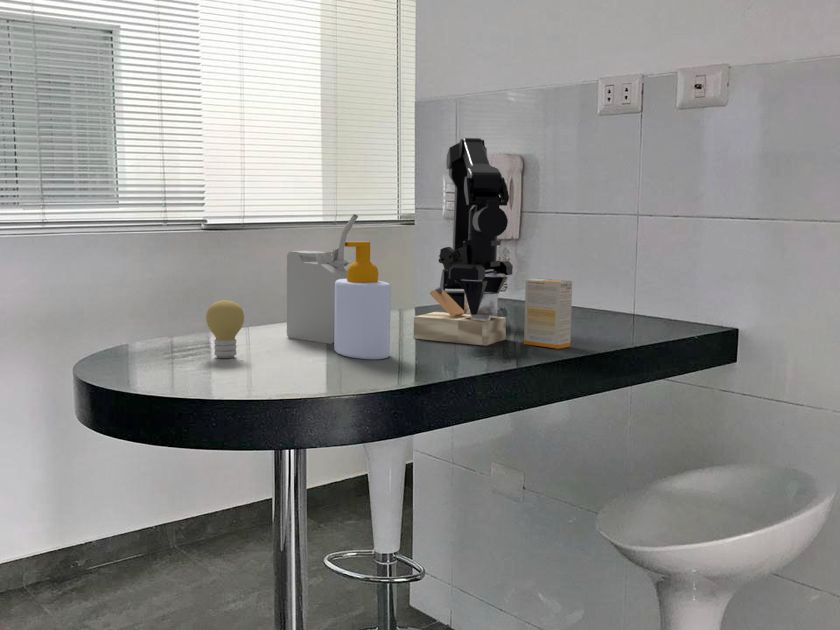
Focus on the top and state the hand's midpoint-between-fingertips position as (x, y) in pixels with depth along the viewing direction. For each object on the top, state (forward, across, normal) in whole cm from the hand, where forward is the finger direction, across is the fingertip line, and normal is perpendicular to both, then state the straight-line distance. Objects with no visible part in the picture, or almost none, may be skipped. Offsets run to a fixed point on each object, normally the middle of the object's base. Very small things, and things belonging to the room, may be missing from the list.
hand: (480, 312), depth 179 cm
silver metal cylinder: (+4, 0, 0) cm, 4 cm away
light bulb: (+6, +43, -29) cm, 52 cm away
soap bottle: (+6, +27, -12) cm, 30 cm away
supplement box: (+6, -2, +14) cm, 15 cm away
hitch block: (+6, 0, -4) cm, 7 cm away
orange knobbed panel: (-1, 0, -8) cm, 8 cm away
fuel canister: (+6, +17, -26) cm, 32 cm away
